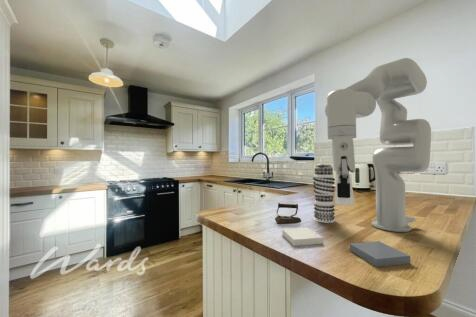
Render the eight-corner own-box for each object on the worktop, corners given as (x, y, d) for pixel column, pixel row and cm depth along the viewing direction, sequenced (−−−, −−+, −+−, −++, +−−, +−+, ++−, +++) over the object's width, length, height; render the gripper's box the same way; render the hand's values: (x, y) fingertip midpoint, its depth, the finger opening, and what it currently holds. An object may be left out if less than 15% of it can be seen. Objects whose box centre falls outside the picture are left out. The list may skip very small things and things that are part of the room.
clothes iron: (273, 220, 97) (277, 198, 98) (297, 226, 97) (301, 204, 98) (275, 223, 90) (280, 200, 91) (301, 229, 90) (306, 206, 91)
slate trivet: (378, 247, 65) (378, 241, 65) (410, 263, 55) (410, 255, 55) (349, 250, 63) (349, 243, 63) (376, 267, 54) (376, 259, 54)
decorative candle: (318, 223, 90) (317, 164, 90) (310, 217, 99) (309, 164, 99) (339, 223, 90) (338, 164, 90) (329, 217, 99) (329, 163, 99)
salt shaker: (351, 201, 64) (350, 165, 64) (357, 205, 59) (356, 166, 59) (332, 201, 65) (331, 165, 65) (336, 205, 60) (335, 166, 60)
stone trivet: (308, 233, 78) (308, 227, 78) (323, 243, 69) (323, 237, 69) (282, 234, 77) (282, 229, 77) (293, 246, 67) (293, 239, 67)
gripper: (361, 129, 53) (363, 202, 53) (351, 135, 68) (353, 191, 68) (328, 131, 55) (330, 201, 55) (326, 136, 71) (327, 191, 71)
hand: (342, 195), depth 62 cm, fingers closed on salt shaker, 4 cm apart
